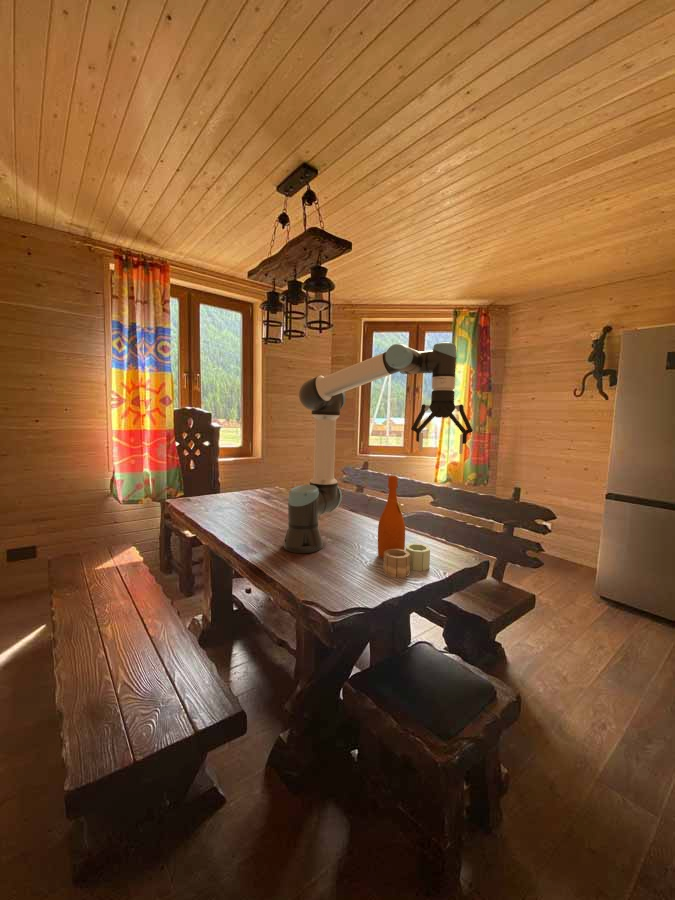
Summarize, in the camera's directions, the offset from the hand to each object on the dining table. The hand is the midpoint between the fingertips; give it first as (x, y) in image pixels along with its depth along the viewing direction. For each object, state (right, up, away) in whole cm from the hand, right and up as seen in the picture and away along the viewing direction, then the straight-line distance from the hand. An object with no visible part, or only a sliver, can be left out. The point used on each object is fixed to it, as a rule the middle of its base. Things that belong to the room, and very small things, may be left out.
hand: (440, 452), depth 128 cm
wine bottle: (-16, -38, +8) cm, 42 cm away
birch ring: (-16, -39, -6) cm, 43 cm away
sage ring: (-8, -39, 0) cm, 40 cm away
